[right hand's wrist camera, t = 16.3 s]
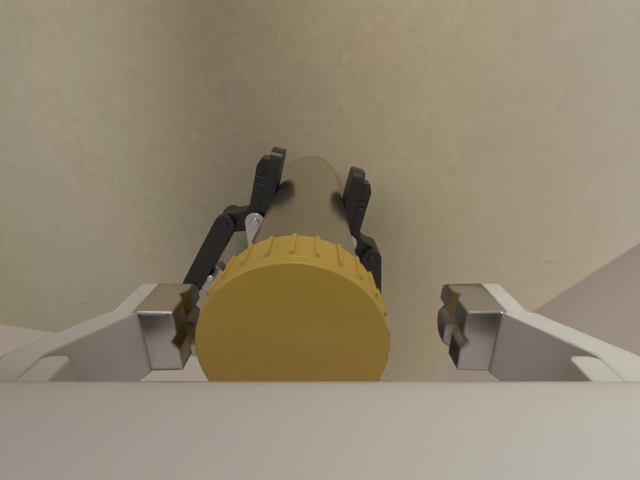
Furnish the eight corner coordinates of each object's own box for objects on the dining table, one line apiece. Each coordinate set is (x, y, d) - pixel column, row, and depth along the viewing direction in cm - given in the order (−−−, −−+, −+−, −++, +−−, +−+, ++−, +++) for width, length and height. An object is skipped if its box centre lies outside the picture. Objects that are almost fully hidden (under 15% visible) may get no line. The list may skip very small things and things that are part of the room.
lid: (341, 394, 11) (344, 443, 10) (193, 348, 11) (170, 393, 9) (410, 269, 10) (429, 302, 8) (241, 205, 9) (222, 227, 7)
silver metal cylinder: (280, 201, 28) (206, 378, 10) (290, 150, 26) (227, 245, 8) (329, 213, 28) (348, 405, 10) (343, 163, 27) (394, 282, 9)
